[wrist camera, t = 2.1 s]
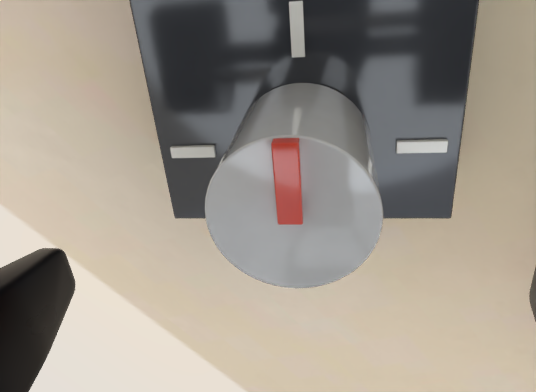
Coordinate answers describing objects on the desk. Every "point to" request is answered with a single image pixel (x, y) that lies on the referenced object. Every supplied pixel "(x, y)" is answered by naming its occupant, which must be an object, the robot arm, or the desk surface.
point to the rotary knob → (297, 189)
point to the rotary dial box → (316, 72)
